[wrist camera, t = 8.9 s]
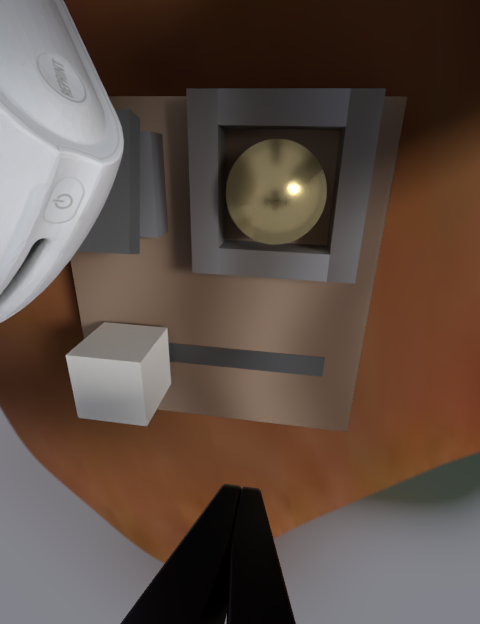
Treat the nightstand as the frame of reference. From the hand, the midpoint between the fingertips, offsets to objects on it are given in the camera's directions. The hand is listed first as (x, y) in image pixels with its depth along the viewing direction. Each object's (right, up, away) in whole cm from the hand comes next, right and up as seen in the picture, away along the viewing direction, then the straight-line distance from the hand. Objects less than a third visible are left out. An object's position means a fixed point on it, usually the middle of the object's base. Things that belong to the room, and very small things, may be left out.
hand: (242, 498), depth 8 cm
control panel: (-1, +6, +9) cm, 10 cm away
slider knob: (-5, +2, +9) cm, 10 cm away
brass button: (+1, +9, +5) cm, 10 cm away
